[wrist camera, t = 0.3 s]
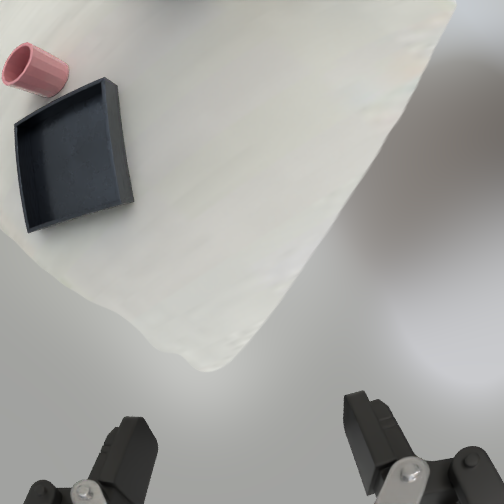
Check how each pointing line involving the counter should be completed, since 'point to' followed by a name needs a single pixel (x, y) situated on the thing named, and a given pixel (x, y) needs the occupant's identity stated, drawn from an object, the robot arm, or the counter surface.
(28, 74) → the cup
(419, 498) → the robot arm
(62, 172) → the dark grey storage tray
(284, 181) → the counter surface
